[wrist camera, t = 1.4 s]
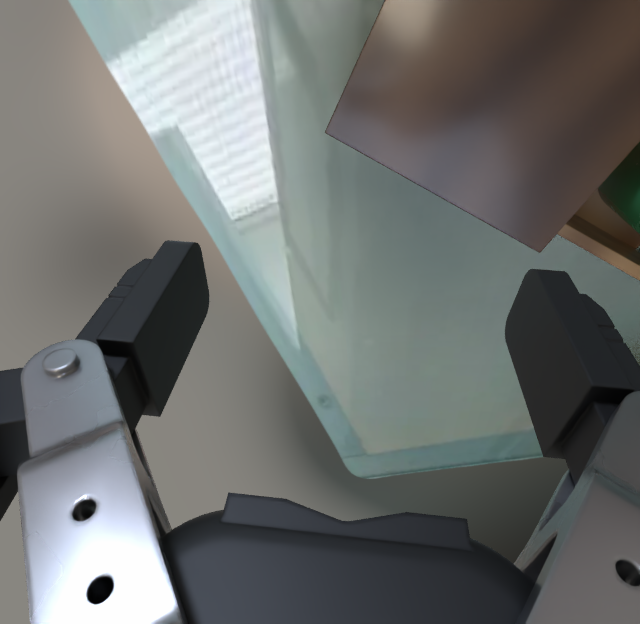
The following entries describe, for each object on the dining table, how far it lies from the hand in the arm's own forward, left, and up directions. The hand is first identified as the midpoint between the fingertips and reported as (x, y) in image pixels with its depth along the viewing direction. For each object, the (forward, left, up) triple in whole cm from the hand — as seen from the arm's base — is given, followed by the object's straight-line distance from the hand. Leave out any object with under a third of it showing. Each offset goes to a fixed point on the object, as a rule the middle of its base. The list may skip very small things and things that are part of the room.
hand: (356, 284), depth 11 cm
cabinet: (-5, +4, -26) cm, 27 cm away
